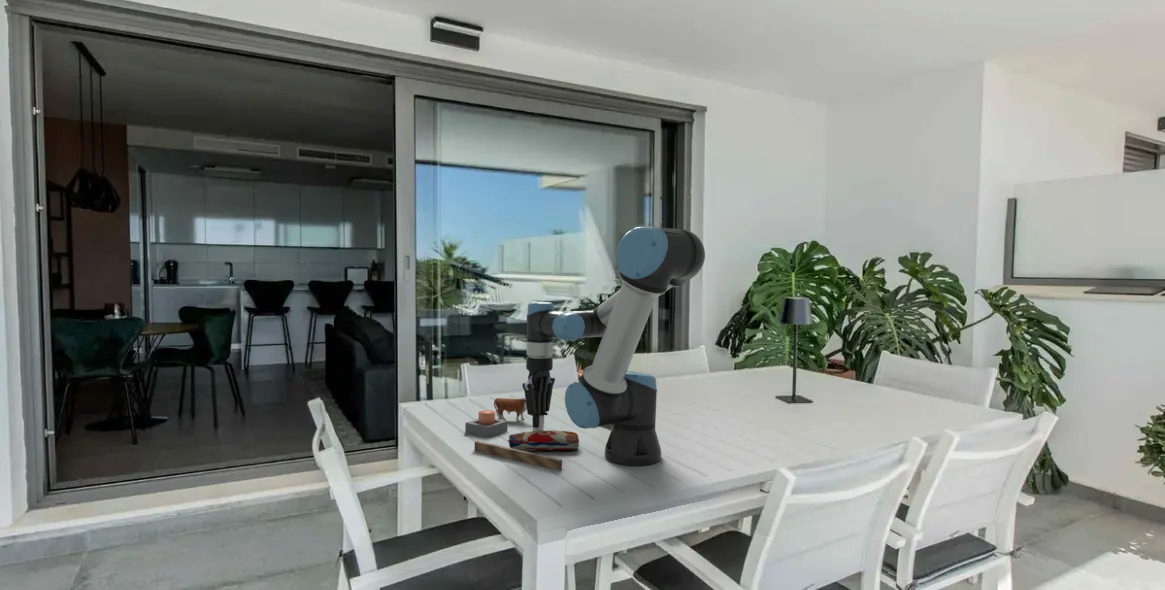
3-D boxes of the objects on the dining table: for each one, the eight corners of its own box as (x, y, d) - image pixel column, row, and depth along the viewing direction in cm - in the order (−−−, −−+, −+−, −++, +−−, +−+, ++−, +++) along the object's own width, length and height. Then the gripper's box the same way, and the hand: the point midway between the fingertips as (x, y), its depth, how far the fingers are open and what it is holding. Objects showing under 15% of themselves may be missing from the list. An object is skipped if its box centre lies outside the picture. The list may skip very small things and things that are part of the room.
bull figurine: (532, 423, 200) (532, 398, 199) (492, 420, 202) (492, 395, 201) (535, 419, 204) (535, 395, 203) (496, 417, 206) (496, 393, 206)
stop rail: (561, 469, 155) (562, 459, 155) (559, 470, 154) (559, 460, 154) (477, 449, 170) (477, 440, 170) (474, 450, 169) (474, 441, 169)
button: (498, 424, 189) (498, 411, 189) (487, 428, 185) (487, 415, 184) (485, 422, 191) (485, 409, 191) (474, 425, 187) (475, 412, 187)
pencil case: (574, 458, 165) (575, 439, 165) (503, 453, 168) (504, 435, 168) (580, 446, 176) (581, 429, 176) (513, 442, 179) (514, 425, 178)
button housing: (507, 430, 190) (507, 421, 189) (488, 437, 182) (488, 427, 182) (485, 426, 194) (485, 416, 194) (465, 432, 187) (465, 422, 186)
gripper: (542, 352, 183) (540, 430, 184) (514, 357, 172) (513, 440, 173) (563, 354, 179) (561, 435, 180) (536, 360, 168) (535, 445, 169)
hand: (538, 437), depth 177 cm, fingers closed
